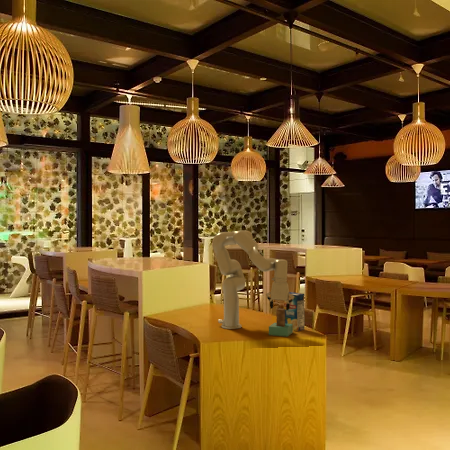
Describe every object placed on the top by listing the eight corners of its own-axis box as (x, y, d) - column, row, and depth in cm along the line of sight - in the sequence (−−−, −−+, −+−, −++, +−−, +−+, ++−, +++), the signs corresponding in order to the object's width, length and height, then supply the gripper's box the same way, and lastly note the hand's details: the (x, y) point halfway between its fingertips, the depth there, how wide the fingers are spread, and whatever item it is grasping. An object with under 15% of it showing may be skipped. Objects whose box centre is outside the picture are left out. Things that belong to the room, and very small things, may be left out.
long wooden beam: (276, 333, 307) (276, 309, 307) (278, 331, 311) (278, 308, 311) (283, 333, 306) (283, 310, 305) (284, 332, 309) (284, 308, 309)
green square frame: (268, 334, 305) (268, 326, 305) (274, 330, 316) (274, 322, 316) (287, 336, 301) (287, 328, 301) (292, 332, 311) (292, 324, 311)
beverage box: (297, 331, 314) (297, 295, 314) (283, 328, 322) (283, 293, 322) (304, 329, 319) (304, 293, 318) (291, 326, 327) (290, 291, 326)
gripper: (264, 280, 307) (263, 308, 308) (293, 282, 301) (292, 311, 302) (268, 278, 314) (267, 306, 315) (296, 280, 308) (295, 309, 309)
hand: (279, 309), depth 308 cm, fingers open, 9 cm apart
